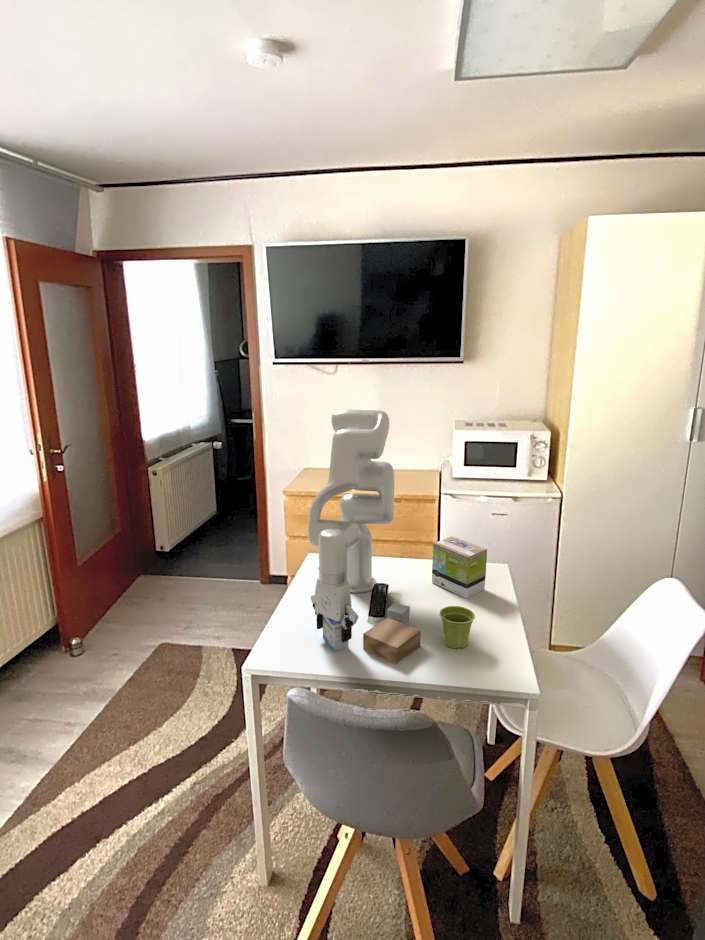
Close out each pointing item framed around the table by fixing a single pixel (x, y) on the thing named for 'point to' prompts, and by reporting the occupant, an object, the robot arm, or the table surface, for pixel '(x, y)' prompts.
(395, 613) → the grey cube
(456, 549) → the tea box
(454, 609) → the plant pot
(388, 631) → the walnut block
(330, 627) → the medicine box
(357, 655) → the table surface
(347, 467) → the robot arm
